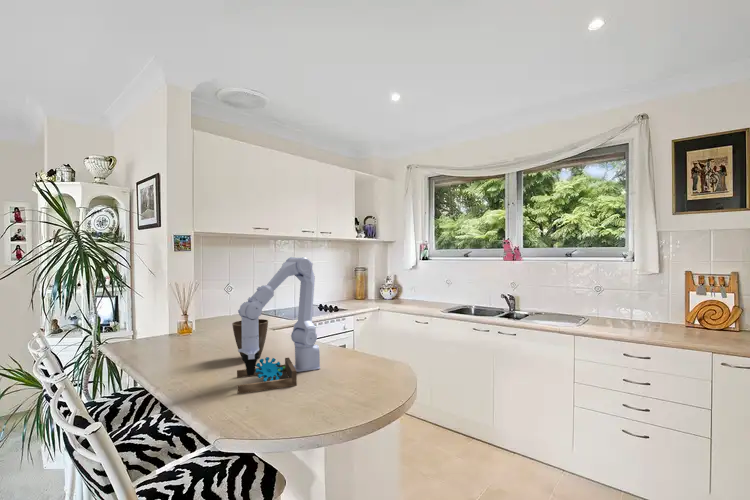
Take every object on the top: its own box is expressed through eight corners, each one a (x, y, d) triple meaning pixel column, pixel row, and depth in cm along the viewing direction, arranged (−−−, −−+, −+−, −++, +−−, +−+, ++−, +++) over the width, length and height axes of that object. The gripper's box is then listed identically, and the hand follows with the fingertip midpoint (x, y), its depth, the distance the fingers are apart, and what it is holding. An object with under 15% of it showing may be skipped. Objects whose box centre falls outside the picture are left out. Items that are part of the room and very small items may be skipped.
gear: (258, 382, 124) (254, 356, 131) (252, 391, 127) (249, 365, 134) (288, 379, 131) (283, 355, 137) (282, 388, 134) (278, 364, 140)
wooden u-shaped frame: (289, 370, 142) (288, 357, 142) (296, 385, 126) (296, 370, 126) (237, 377, 135) (236, 363, 135) (237, 393, 119) (237, 378, 119)
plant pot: (225, 362, 154) (224, 324, 155) (245, 353, 169) (244, 318, 169) (257, 364, 151) (256, 325, 151) (274, 354, 166) (274, 319, 166)
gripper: (237, 333, 134) (238, 370, 134) (238, 341, 121) (238, 382, 120) (257, 331, 137) (258, 367, 137) (260, 339, 123) (261, 379, 123)
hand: (250, 374), depth 129 cm, fingers closed
